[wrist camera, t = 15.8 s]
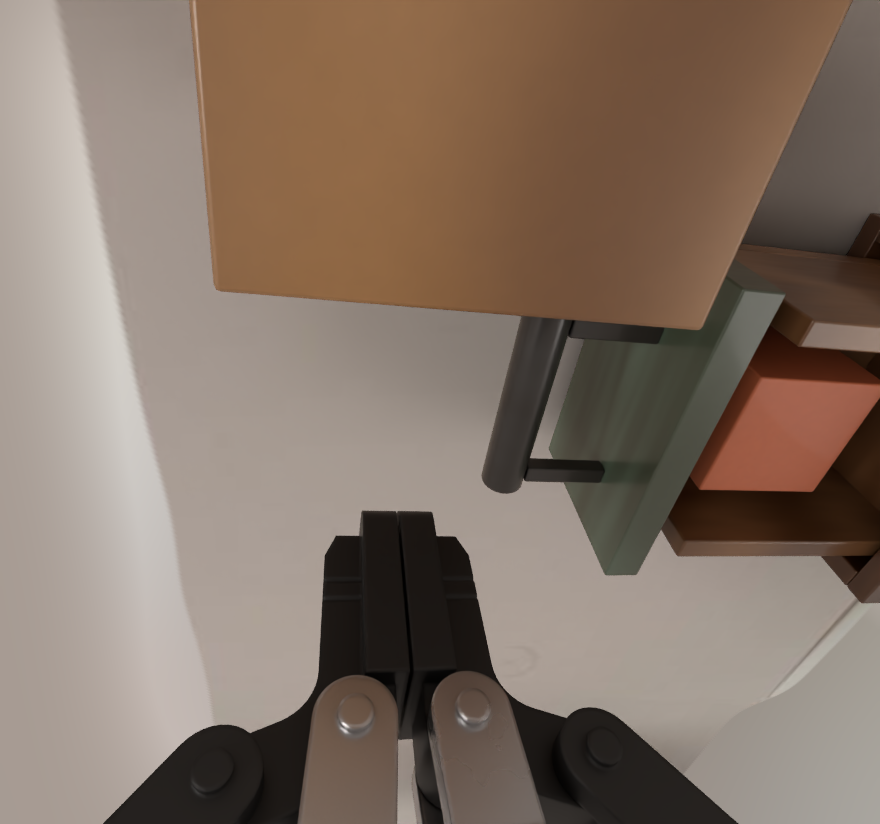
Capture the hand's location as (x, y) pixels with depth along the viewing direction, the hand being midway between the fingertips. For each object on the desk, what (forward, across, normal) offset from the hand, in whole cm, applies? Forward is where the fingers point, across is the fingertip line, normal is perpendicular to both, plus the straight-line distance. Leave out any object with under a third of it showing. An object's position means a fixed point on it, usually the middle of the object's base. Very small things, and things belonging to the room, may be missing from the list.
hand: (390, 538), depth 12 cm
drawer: (+10, -12, 0) cm, 16 cm away
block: (+9, -13, 0) cm, 16 cm away
